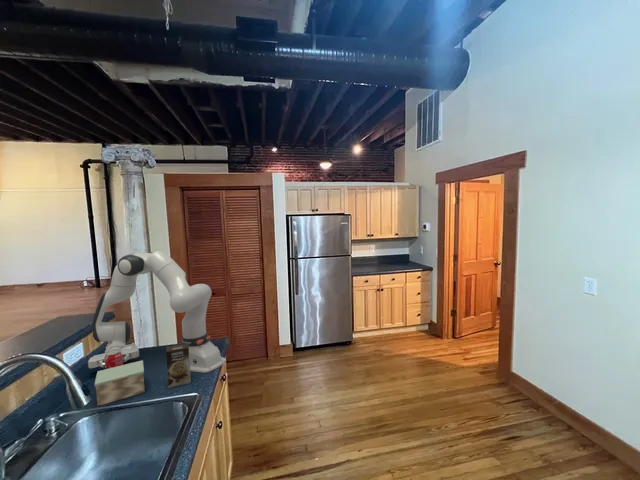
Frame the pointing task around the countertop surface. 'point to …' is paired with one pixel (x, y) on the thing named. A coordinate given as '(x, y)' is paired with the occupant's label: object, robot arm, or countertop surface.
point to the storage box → (119, 389)
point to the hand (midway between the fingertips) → (114, 363)
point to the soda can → (113, 359)
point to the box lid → (119, 373)
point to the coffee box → (178, 365)
